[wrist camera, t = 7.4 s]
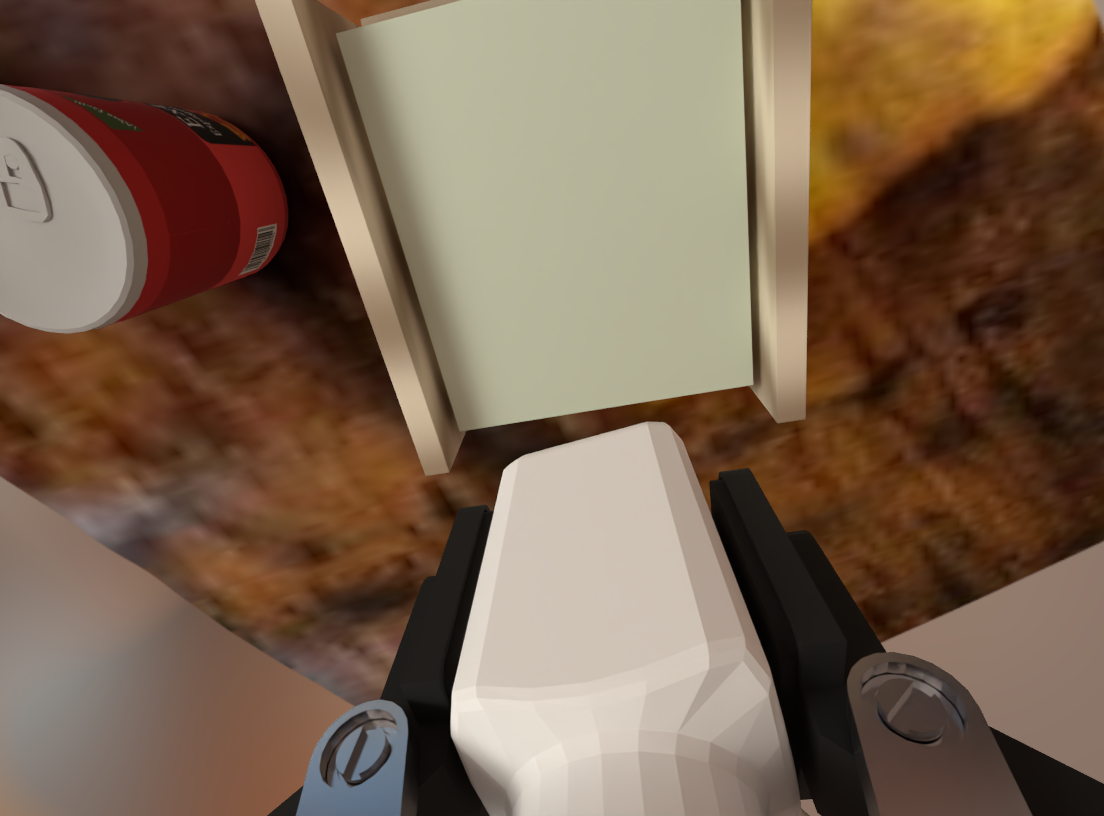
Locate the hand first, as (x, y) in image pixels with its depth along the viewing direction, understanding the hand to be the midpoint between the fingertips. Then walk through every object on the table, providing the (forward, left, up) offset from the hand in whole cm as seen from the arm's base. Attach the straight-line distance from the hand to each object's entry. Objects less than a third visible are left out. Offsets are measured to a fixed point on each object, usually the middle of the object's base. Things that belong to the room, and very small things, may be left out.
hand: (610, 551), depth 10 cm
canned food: (-9, -18, -20) cm, 29 cm away
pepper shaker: (0, 0, -2) cm, 2 cm away
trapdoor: (-5, 0, -13) cm, 14 cm away
